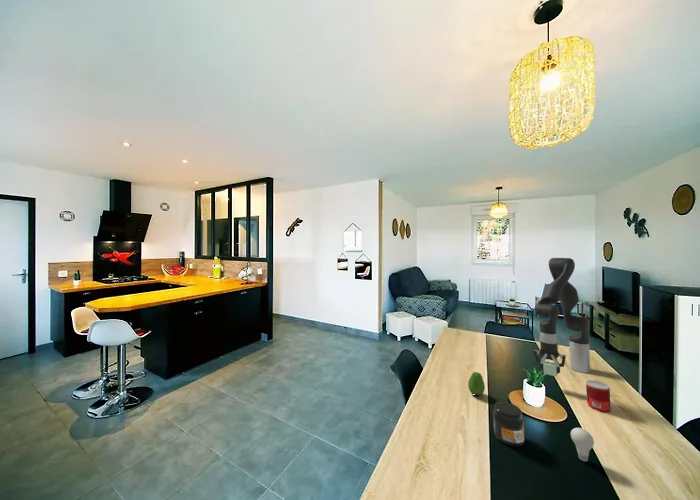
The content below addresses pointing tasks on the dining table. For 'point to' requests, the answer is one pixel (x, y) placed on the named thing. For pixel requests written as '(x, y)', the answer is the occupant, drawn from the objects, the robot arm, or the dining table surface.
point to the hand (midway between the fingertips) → (550, 371)
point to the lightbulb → (582, 442)
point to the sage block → (550, 368)
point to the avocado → (476, 384)
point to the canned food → (598, 396)
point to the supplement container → (508, 424)
